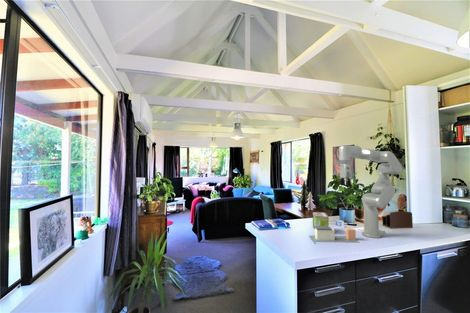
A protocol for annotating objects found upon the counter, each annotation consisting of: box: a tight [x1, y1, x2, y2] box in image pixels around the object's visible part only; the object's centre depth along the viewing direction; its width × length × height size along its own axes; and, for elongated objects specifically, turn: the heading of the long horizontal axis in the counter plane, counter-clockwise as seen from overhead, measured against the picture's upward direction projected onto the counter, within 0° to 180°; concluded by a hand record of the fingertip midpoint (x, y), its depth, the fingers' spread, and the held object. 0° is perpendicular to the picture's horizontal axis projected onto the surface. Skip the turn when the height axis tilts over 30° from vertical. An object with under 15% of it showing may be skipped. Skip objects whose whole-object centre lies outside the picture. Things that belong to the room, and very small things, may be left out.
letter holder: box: [382, 210, 414, 229], centre depth 196 cm, size 10×20×14 cm, turn 94°
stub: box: [345, 227, 357, 240], centre depth 161 cm, size 5×4×7 cm
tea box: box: [312, 211, 330, 233], centre depth 181 cm, size 15×10×15 cm, turn 168°
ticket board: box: [308, 226, 360, 245], centre depth 162 cm, size 30×14×9 cm, turn 87°
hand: (345, 186), depth 167 cm, fingers open, 9 cm apart
